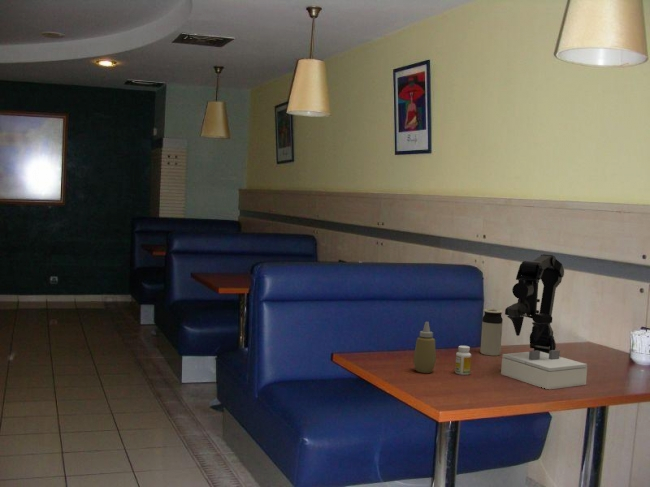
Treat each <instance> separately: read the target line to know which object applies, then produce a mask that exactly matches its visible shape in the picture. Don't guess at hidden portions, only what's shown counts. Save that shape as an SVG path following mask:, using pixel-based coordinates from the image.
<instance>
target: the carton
mask: <svg viewBox="0 0 650 487" xmlns="http://www.w3.org/2000/svg"><path fill="white" fill-rule="evenodd" d="M500 368H501V369H500V374H501V375H502V376H506V377H509V378H511V379H514V380H517V381H521V382H523V383H526V384H530V385H533V386H535V387H539V388H541V387H542V389H544V388H545V389H544V390H547V389H549V390H553V389H554V390H555V389H562V388H563V389H564V388H571V387H577V386H586V385H587V376H588V375H587V373H588V367H583V368H574V369H565V370H556V371H547V370H544V369H541V368H537V367H534V366H531V365H528V364H524V363H521V362H518V361H514V360H511V359H508V358H504V357H502V358H501V367H500Z"/></svg>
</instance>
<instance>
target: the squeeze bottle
mask: <svg viewBox="0 0 650 487" xmlns="http://www.w3.org/2000/svg"><path fill="white" fill-rule="evenodd" d="M433 336H434V332H432V331H431V328H430V322H429V321H425V322H424V325H423V329H422V330H421V331H419V336H418V337H417V338H416V342H415V349H414V354H413V364H414V369H415V371H416V372H418V373H422V374H428V373H432V372H433V371H434V368H435V366H436V362H437V356H436V339H435V338H433Z"/></svg>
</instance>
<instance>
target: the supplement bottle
mask: <svg viewBox="0 0 650 487" xmlns="http://www.w3.org/2000/svg"><path fill="white" fill-rule="evenodd" d="M470 348H471V347H470V346H468V345H459V346H458V348H457V350H458V351H457V352H456V353H455V364H454V366H455V367H454V372H455V374H457V375H460V376H461V375H463V376H465V375H467V376H468V375H470V374H471V365H472V364H471V363H472V354H471V353H470V350H471V349H470Z"/></svg>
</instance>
